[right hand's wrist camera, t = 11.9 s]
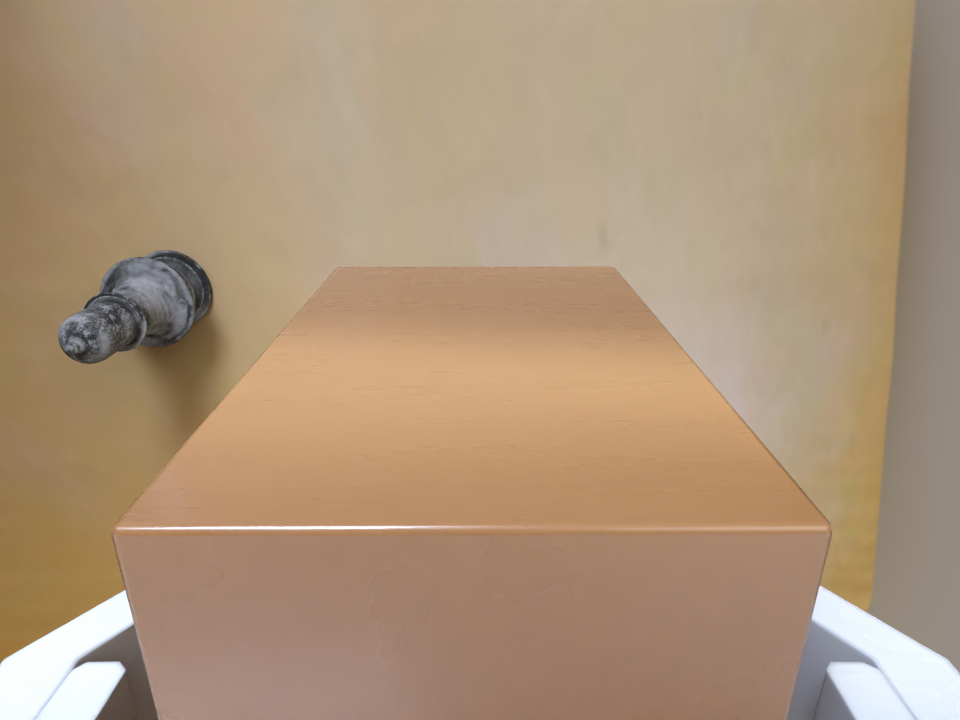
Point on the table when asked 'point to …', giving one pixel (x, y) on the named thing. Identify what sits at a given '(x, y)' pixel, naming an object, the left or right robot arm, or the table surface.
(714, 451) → the bar
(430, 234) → the table surface
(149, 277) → the dark grey chess piece
